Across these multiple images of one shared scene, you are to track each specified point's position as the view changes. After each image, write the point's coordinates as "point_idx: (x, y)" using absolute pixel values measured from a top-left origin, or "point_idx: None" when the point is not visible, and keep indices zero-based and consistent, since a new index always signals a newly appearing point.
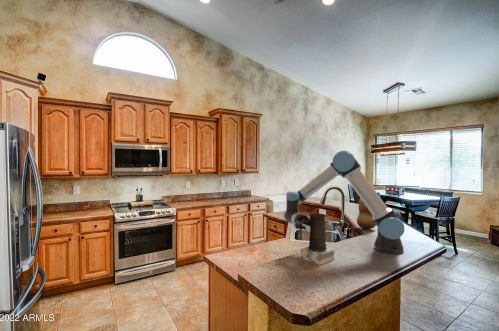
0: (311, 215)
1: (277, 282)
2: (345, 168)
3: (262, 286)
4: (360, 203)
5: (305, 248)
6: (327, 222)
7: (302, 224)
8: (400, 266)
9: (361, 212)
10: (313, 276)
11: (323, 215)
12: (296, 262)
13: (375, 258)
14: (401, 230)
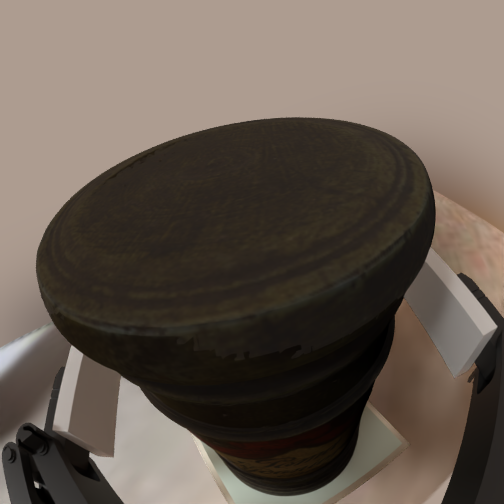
0: (376, 131)
1: (461, 239)
2: None
3: (482, 225)
4: None
5: (377, 446)
6: (21, 449)
7: (491, 324)
8: (46, 328)
9: None
10: None
11: (158, 147)
12: (425, 388)
13: (39, 395)
14: None
